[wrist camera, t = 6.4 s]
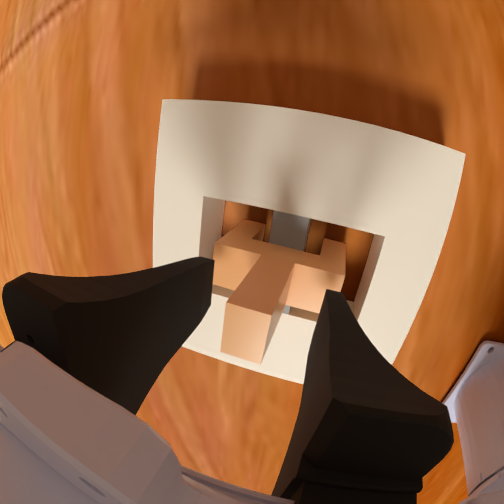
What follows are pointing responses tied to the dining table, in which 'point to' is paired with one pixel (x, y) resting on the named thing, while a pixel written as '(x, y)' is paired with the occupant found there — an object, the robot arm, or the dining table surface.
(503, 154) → the dining table surface
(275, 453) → the dining table surface
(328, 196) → the square window frame
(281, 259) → the notched wooden block
